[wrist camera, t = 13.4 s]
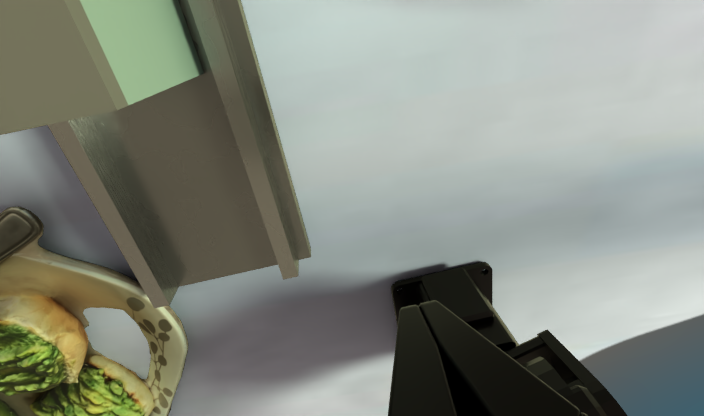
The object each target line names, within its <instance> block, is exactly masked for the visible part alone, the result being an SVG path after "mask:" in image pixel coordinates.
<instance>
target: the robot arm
mask: <svg viewBox="0 0 704 416" xmlns="http://www.w3.org/2000/svg"><path fill="white" fill-rule="evenodd" d="M484 269H485V270H484ZM482 270H484V271H482ZM481 271H482V272H481ZM399 288H402V289H401V290H399V291H397V290H398V289H399ZM391 291H392V297H393V303H394V309H395V315H396V321H397V327H398V329H397V338H396V347H395V356H394V365H393V374H392V383H391V392H390V401H389V410H388V416H627V415H626V413H625V412H624V410H623V409H622V408H621V407H620V405H619V404H618V403H617V401H616V400H615V399H614V398H613V396H612V395H611V394H610V393H609V392H608V391H607V389H606V388H605V387H604V386H603V385H602V384H601V383H600V382H599V381H598V380H597V379H596V378H595V377H594V376H593V375H592V374H591V373H590V372H589V371H588V370H587V369H586V368H585V367H584V366H583V365H582V364H581V363H580V362H579V361H578V360H577V359H576V358H575V357H574V356H573V355H572V354H571V353H570V352H569V351H568V350H567V349H566V348H565V347H564V346H563V345H562V344H561V343H560V342H559V341H558V340H557V339H556V338H555V337H554V336H553V335H552V334H551V333H550V332H549V331H548V330H545V331H543V332H541V333H539V334H537V335H538V336H537V337H535V338H533V339H531V340H529V341H526V342H524V343H522V344H520V345H519V344H518V343H517V341H516V340H515V338H514V337H513V335H512V334H511V332H510V331H509V330H508V328H507V327H506V325H505V324H504V322H503V321H502V319H501V318H500V316H499V315H498V314H497V312H496V311H495V309H494V308H493V306H492V268H491V267H490V266H489V264H488V263H486V262H481V263H476V264H472V265H468V266H463V267H459V268H454V269H450V270H446V271H441V272H437V273H432V274H428V275H424V276H419V277H415V278H410V279H406V280H402V281H398V282H395V283H394V284H393V285H392V287H391Z"/></svg>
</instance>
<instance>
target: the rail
mask: <svg viewBox="0 0 704 416" xmlns="http://www.w3.org/2000/svg"><path fill="white" fill-rule="evenodd" d="M178 1H179V4H180V7H181V10H182V13H183V15H184V18H185V21H186V24H187V27H188V30H189V32H190V35H191V38H192V41H193V44H194V47H195V49H196V52H197V55H198V58H199V61H200V63H201V66H202V69H203V72H204V74H202V75H199V76H197V77H194V78H192V79H190V80H187V81H185V82H183V83H180V84H178V85H176V86H173V87H171V88H169V89H166V90H164V91H161V92H159V93H157V94H154V95H152V96H150V97H147V98H145V99H143V100H140V101H138V102H136V103H133V104H131V105H129V106H126V107H124V108H121V109H119V110H116V111H111V112H107V113H102V114H97V115H92V116H88V117H83V118H78V119H73V120H69V121H64V122H59V123H54V124H50V125H48V127H49V129H50V130H51V132H52V134H53V135H54V137H55V139H56V141H57V142H58V144H59V146H60V147H61V149H62V151H63V153H64V154H65V156H66V158H67V159H68V161H69V163H70V165H71V166H72V168H73V170H74V171H75V173H76V175H77V177H78V178H79V180H80V182H81V183H82V185H83V187H84V189H85V190H86V192H87V194H88V195H89V197H90V199H91V201H92V202H93V204H94V206H95V208H96V209H97V211H98V213H99V214H100V216H101V218H102V220H103V221H104V223H105V225H106V226H107V228H108V230H109V232H110V233H111V235H112V237H113V238H114V240H115V242H116V244H117V245H118V247H119V249H120V250H121V252H122V254H123V256H124V257H125V259H126V261H127V262H128V264H129V266H130V268H131V269H132V271H133V273H134V274H135V276H136V278H137V280H138V281H139V283H140V285H141V286H142V288H143V290H144V292H145V293H146V295H147V297H148V298H149V300H150V302H151V304H152V305H153V307H154V308H159V307H163V306H168V305H170V303H171V301H172V299H173V297H174V295H175V293H176V291H177V289H178V287H179V286H184V285H188V284H193V283H197V282H202V281H206V280H210V279H215V278H219V277H224V276H228V275H233V274H237V273H242V272H246V271H251V270H255V269H260V268H264V267H269V266H273V265H279V268H280V271H281V274H282V277H283V279H288V278H292V277H297V276H298V271H299V260H300V259H304V258H309V257H311V247H310V244H309V240H308V236H307V233H306V229H305V226H304V222H303V219H302V215H301V212H300V208H299V205H298V201H297V198H296V194H295V190H294V187H293V183H292V180H291V176H290V173H289V169H288V166H287V162H286V159H285V155H284V152H283V148H282V144H281V141H280V137H279V134H278V130H277V127H276V123H275V120H274V116H273V113H272V109H271V106H270V102H269V98H268V95H267V91H266V88H265V84H264V81H263V77H262V74H261V70H260V67H259V63H258V60H257V56H256V52H255V49H254V45H253V42H252V38H251V35H250V31H249V28H248V24H247V21H246V17H245V14H244V10H243V6H242V3H241V0H178Z"/></svg>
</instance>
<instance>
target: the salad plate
mask: <svg viewBox="0 0 704 416" xmlns="http://www.w3.org/2000/svg"><path fill="white" fill-rule="evenodd" d="M43 228H44V226H43V223H42V222H41V221H40V220H39V218H38V217H37V216H36V215H35V214H33V213H32V212H31V211H29V210H27V209H25V208H22V207H9V208H7V209H6V210H4V211H3V212H2V213H0V416H168V414H169V412H170V410H171V403H172V400H173V398H174V395H175V392H176V389H177V386H178V383H179V380H180V378H181V376H182V372H183V369H184V365H185V360H186V355H187V351H188V340H187V336H186V333H185V331H184V328H183V325H182V322H181V320H180V319H179V318H178V316H177V315H176V314H175V312H174V311H173V310H172V309H171V307H170V306H169V305H168V306H163V307H159V308H154V307H153V305H152V304H151V302H150V300H149V298H148V297H147V295H146V293H145V292H144V290H143V288H142V286H141V285H140V283H138V282H136V281H134V280H133V279H131V278H129V277H127V276H125V275H123V274H121V273H119V272H117V271H114V270H112V269H109V268H106V267H103V266H100V265H96V264H92V263H88V262H84V261H80V260H76V259H72V258H68V257H65V256H62V255H58V254H56V253H53V252H50V251H48V250H46V249H44V248H42V247H40V246H39V245H38V239H39V238H40V237H41V236H42V234H43ZM90 307H94V308H100V307H105V308H114V309H121V310H124V311H125V312H126V313H127V314H128V315H129V316H130V317H131V318H132V319H133V320H134V321H135V322H136V323H137V324H138V326H139V327H140V329H141V331H142V332H143V334H144V336H145V337H146V339H147V341H148V344H149V348H150V354H151V362H150V368H149V373H148V377H147V379H141V378H139V377H138V376H137V375H136V373H135V372H133V371H131V370H129V369H127V368H125V367H124V366H123V365H121V364H119V363H117V362H114V361H112V360H110V359H108V358H106V357H105V356H103V355H102V354H101V353H99V352H97V351H95V350H94V349H93V348H92V347H91V344H90V342H89V340H88V337H87V334H86V332H85V330H84V329H85V328H86V327H87V326H89V322H88V321H87V319H86V318H85V316H84V314H83V311H84V309H86V308H90Z"/></svg>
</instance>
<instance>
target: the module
mask: <svg viewBox="0 0 704 416" xmlns="http://www.w3.org/2000/svg"><path fill="white" fill-rule="evenodd" d="M202 74H204V72H203V69H202V66H201V63H200V61H199V58H198V55H197V52H196V49H195V47H194V44H193V41H192V38H191V35H190V32H189V30H188V27H187V24H186V21H185V18H184V15H183V13H182V10H181V7H180V4H179V1H178V0H0V135H2V134H7V133H11V132H16V131H21V130H26V129H30V128H35V127H40V126H45V125H50V124H54V123H59V122H64V121H69V120H73V119H78V118H83V117H88V116H92V115H97V114H102V113H107V112H111V111H116V110H119V109H121V108H124V107H126V106H129V105H131V104H133V103H136V102H138V101H140V100H143V99H145V98H147V97H150V96H152V95H154V94H157V93H159V92H161V91H164V90H166V89H169V88H171V87H173V86H176V85H178V84H180V83H183V82H185V81H187V80H190V79H192V78H194V77H197V76H199V75H202Z"/></svg>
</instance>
